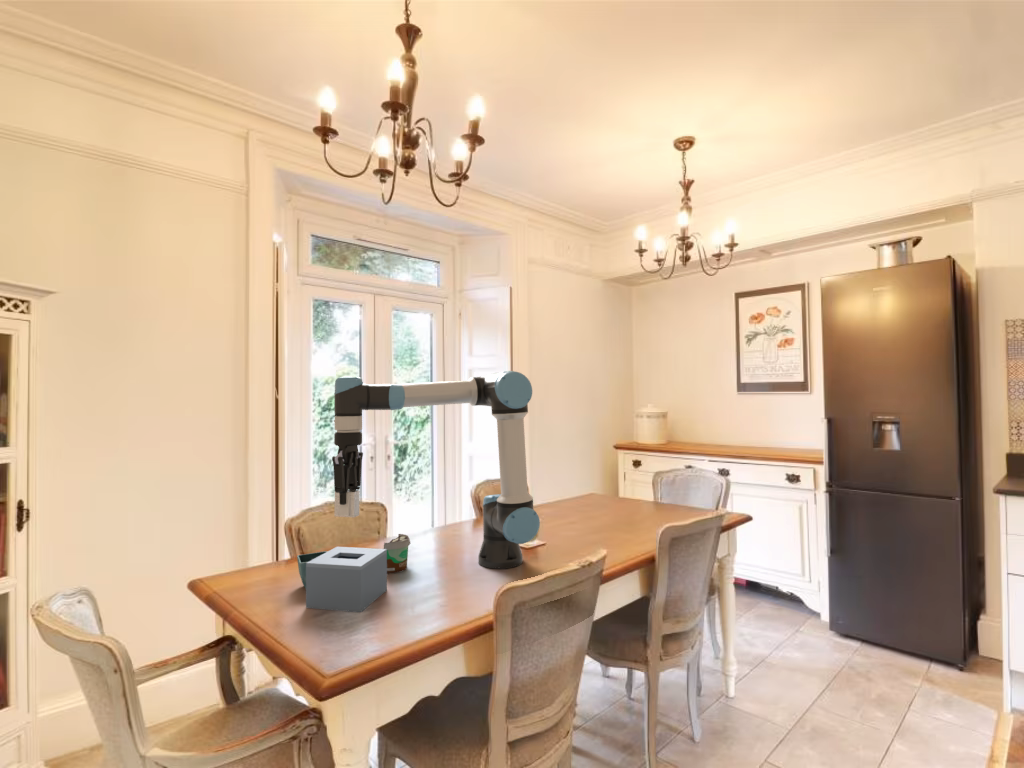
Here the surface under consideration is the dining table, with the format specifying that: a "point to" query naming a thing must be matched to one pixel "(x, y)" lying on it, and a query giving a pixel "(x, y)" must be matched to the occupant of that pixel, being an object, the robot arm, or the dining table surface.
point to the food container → (397, 553)
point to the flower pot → (302, 564)
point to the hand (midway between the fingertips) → (347, 514)
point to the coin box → (346, 578)
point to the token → (353, 503)
